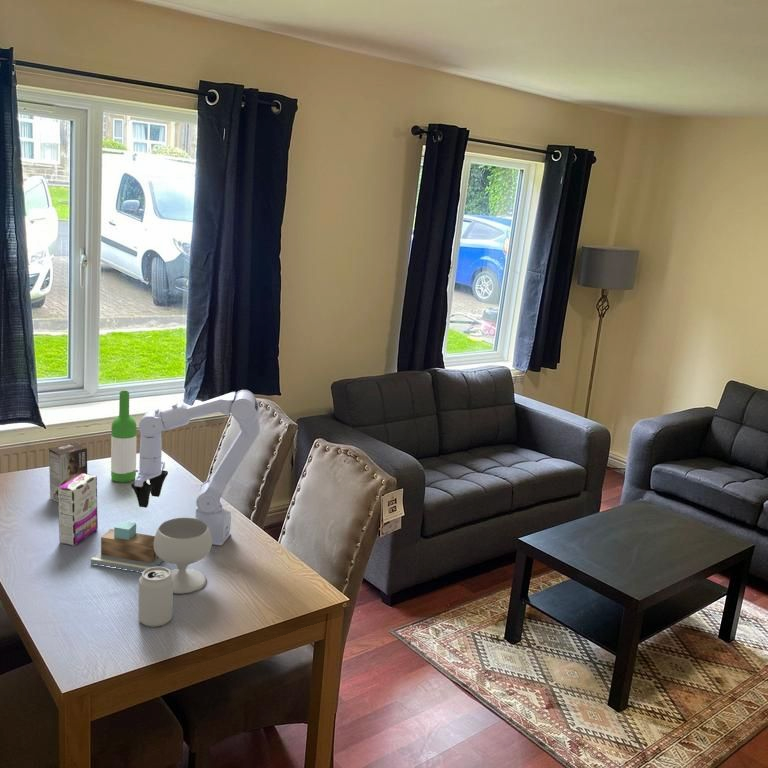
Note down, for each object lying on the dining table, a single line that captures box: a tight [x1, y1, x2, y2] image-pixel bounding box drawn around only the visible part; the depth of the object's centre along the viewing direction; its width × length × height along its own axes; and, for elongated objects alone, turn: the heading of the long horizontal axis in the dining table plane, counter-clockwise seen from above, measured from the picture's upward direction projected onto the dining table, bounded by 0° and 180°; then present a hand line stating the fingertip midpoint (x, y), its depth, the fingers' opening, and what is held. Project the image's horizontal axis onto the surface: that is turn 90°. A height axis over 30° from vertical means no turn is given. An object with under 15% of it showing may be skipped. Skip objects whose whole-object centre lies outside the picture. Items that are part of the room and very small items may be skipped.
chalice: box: [154, 517, 213, 595], centre depth 183 cm, size 14×14×15 cm
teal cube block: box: [113, 520, 137, 540], centre depth 191 cm, size 4×4×3 cm
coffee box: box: [48, 442, 88, 503], centre depth 224 cm, size 9×6×16 cm
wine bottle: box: [110, 390, 138, 483], centre depth 239 cm, size 8×8×30 cm
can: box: [138, 566, 174, 628], centre depth 167 cm, size 8×8×12 cm
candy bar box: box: [57, 473, 99, 547], centre depth 200 cm, size 11×5×16 cm, turn 168°
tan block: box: [100, 528, 157, 563], centre depth 192 cm, size 14×5×5 cm, turn 82°
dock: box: [90, 550, 164, 572], centre depth 193 cm, size 16×11×2 cm
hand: (149, 501), depth 204 cm, fingers open, 7 cm apart
